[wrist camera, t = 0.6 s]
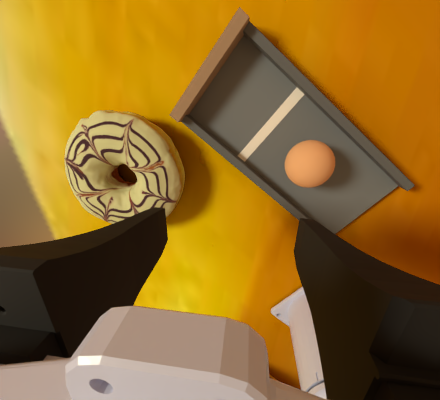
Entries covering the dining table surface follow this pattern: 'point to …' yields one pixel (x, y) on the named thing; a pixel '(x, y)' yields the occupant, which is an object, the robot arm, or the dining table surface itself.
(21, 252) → the robot arm
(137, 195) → the decorated donut
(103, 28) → the dining table surface
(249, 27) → the lane
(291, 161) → the ball
